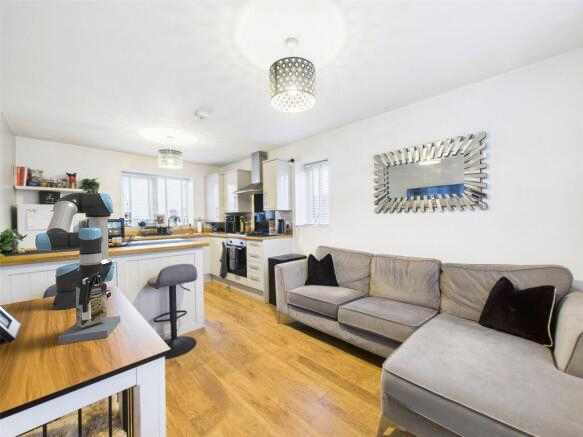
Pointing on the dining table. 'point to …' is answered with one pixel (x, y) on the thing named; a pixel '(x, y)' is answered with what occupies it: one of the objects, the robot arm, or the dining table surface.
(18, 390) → the dining table surface
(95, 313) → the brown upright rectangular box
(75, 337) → the base board
